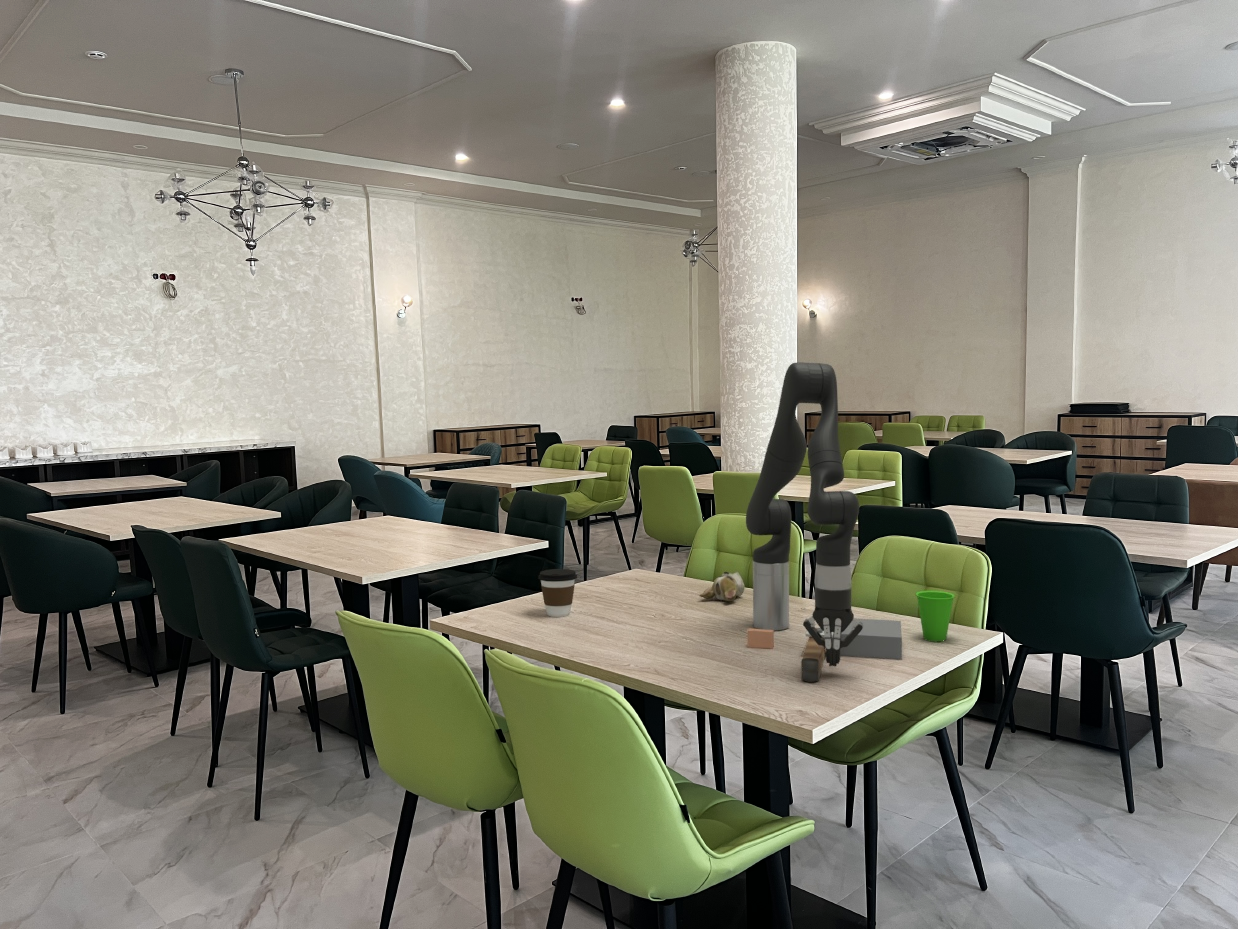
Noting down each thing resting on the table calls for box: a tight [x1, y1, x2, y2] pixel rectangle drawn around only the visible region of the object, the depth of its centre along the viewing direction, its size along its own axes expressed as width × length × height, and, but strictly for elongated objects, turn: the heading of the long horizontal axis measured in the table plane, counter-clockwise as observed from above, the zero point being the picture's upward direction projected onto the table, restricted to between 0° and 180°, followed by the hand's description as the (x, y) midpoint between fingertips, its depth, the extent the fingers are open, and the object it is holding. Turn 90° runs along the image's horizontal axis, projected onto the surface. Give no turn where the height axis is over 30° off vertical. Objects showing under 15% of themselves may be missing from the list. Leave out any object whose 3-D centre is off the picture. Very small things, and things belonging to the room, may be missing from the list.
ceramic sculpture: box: [699, 571, 746, 602], centre depth 262 cm, size 11×9×15 cm
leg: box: [801, 637, 826, 683], centre depth 194 cm, size 24×4×4 cm, turn 163°
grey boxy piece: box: [746, 617, 903, 660], centre depth 210 cm, size 18×35×6 cm, turn 73°
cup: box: [915, 590, 956, 642], centre depth 215 cm, size 9×9×11 cm
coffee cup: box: [537, 568, 578, 618], centre depth 246 cm, size 11×11×12 cm
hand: (832, 665), depth 188 cm, fingers closed
